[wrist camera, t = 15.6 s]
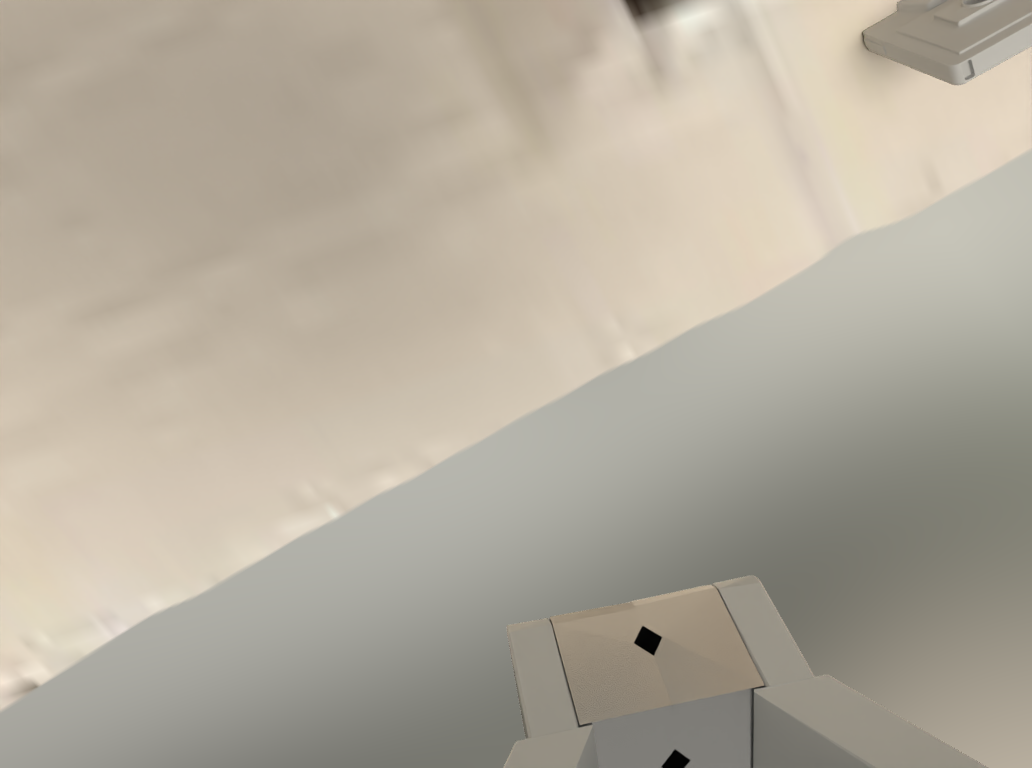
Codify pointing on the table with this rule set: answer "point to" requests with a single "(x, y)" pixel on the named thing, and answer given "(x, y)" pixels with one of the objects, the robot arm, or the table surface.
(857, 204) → the table surface
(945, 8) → the cassette
